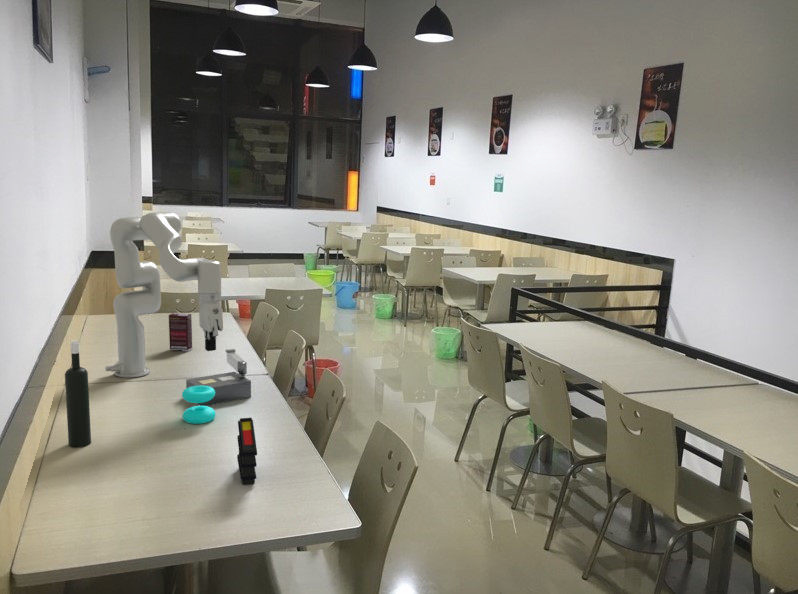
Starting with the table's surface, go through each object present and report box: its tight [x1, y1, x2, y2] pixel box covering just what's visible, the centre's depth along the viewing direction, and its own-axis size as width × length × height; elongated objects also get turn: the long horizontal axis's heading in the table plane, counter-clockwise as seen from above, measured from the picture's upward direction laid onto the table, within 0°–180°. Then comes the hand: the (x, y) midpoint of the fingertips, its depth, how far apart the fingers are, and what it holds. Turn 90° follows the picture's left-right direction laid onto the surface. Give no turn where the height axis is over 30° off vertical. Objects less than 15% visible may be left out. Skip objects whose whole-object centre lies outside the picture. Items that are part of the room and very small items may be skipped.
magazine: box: [236, 417, 258, 486], centre depth 171 cm, size 4×13×15 cm, turn 18°
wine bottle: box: [64, 339, 92, 449], centre depth 186 cm, size 6×6×30 cm
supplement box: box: [168, 312, 193, 352], centre depth 290 cm, size 9×5×16 cm, turn 84°
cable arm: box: [225, 348, 248, 375], centre depth 243 cm, size 18×3×5 cm, turn 29°
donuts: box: [181, 385, 217, 425], centre depth 210 cm, size 10×10×10 cm
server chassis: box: [185, 371, 252, 406], centre depth 232 cm, size 20×13×7 cm, turn 129°
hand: (210, 350), depth 228 cm, fingers closed
